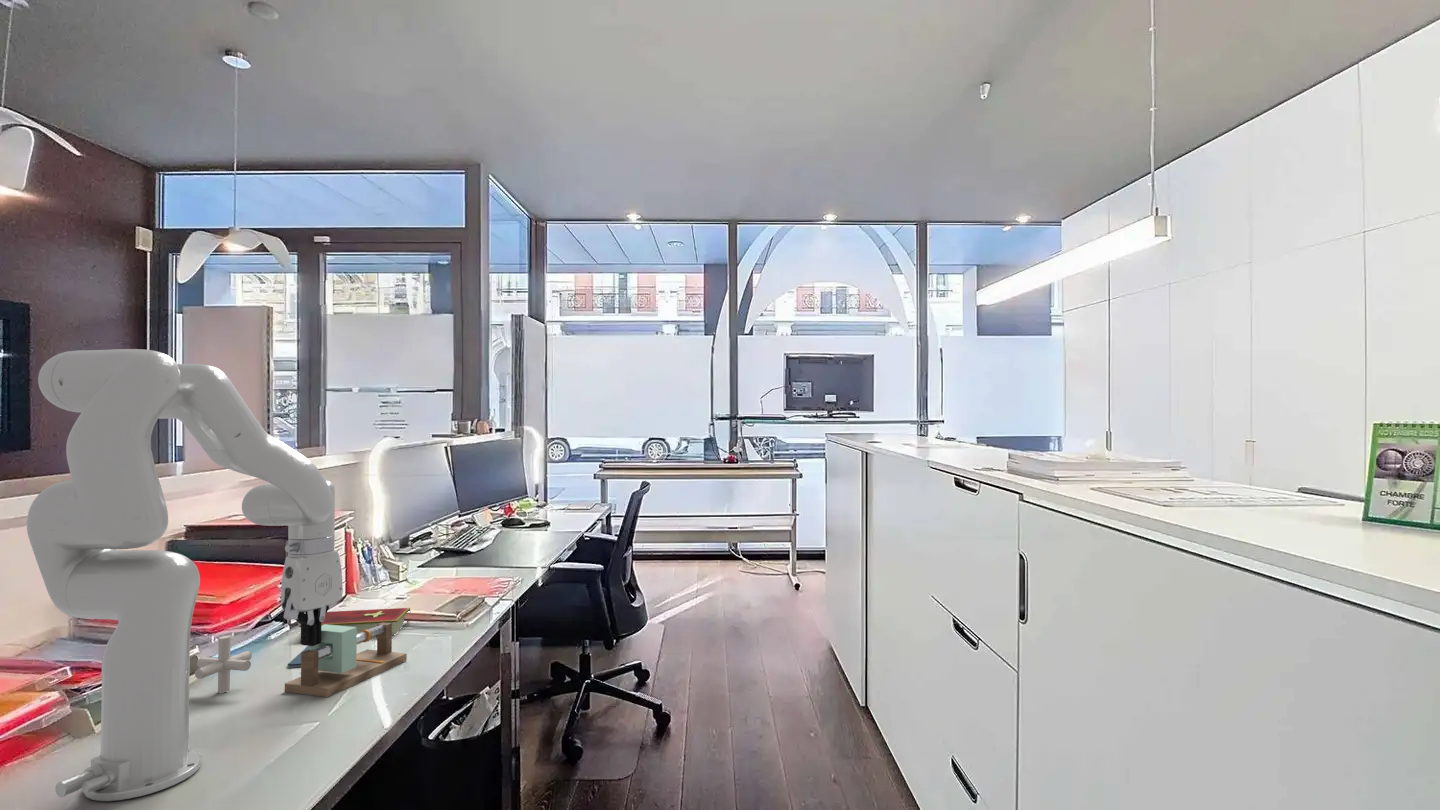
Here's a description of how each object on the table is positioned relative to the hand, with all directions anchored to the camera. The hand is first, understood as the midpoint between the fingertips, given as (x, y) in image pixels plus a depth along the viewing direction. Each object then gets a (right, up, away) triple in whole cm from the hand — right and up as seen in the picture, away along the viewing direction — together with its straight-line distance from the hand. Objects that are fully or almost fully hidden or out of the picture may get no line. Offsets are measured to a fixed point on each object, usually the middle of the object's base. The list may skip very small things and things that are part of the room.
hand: (311, 644), depth 129 cm
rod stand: (+4, -8, +7) cm, 11 cm away
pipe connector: (-15, -9, -1) cm, 18 cm away
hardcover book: (-11, -10, +36) cm, 39 cm away
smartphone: (-9, -10, +19) cm, 23 cm away
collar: (+2, -6, +3) cm, 7 cm away
